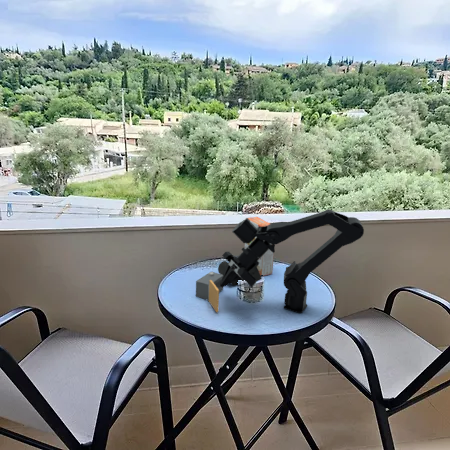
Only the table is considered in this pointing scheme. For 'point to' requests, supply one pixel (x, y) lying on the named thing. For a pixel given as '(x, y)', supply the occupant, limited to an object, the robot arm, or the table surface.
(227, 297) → the table surface
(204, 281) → the block
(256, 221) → the cracker box
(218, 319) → the table surface
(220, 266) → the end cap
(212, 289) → the door
